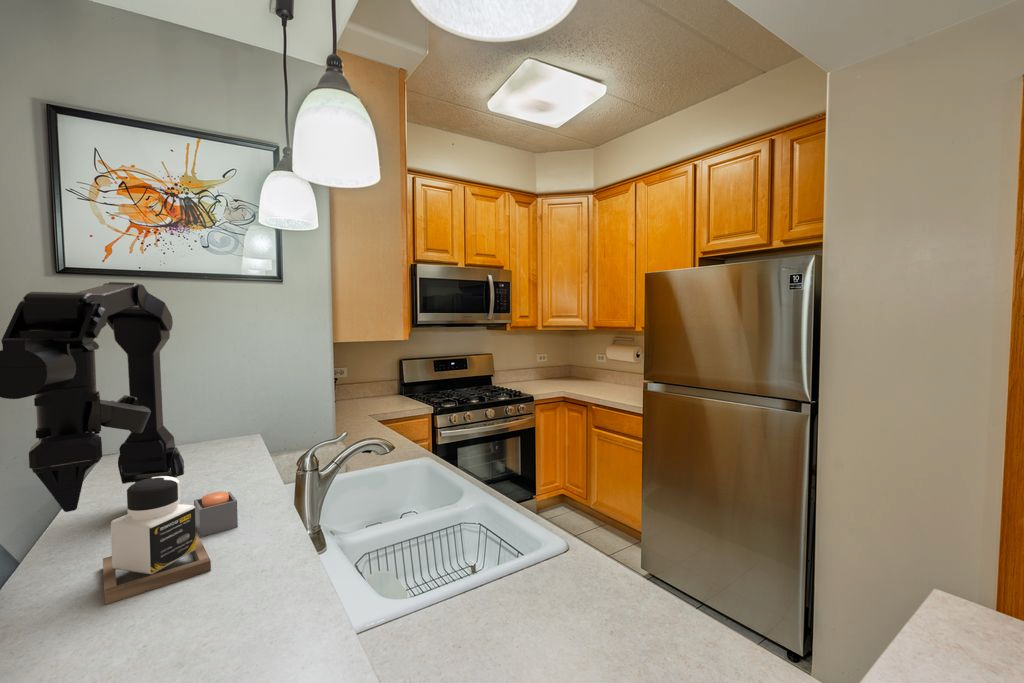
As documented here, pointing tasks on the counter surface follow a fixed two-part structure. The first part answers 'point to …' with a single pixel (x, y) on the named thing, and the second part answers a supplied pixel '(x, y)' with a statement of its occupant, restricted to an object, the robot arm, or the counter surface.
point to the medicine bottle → (153, 527)
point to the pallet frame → (153, 576)
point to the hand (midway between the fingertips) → (71, 499)
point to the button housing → (215, 517)
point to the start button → (215, 499)
